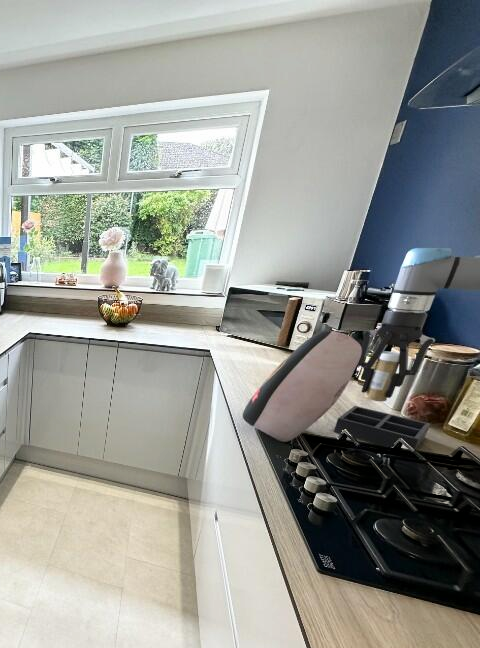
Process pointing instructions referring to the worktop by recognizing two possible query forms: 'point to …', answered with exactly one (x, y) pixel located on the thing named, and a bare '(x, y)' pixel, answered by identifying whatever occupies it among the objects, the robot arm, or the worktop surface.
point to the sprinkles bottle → (382, 376)
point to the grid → (381, 427)
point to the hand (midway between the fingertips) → (376, 393)
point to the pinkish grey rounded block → (304, 385)
